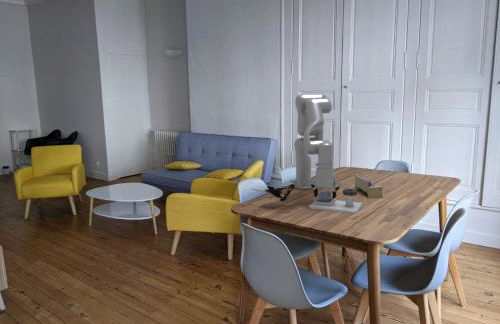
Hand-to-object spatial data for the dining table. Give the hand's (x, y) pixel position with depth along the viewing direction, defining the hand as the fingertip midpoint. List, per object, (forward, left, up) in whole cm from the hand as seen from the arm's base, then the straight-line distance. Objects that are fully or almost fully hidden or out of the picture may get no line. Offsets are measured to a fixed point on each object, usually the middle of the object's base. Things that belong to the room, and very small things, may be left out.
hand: (324, 197), depth 205 cm
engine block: (0, 0, -3) cm, 3 cm away
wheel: (+13, 0, +3) cm, 14 cm away
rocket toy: (-26, -13, -5) cm, 29 cm away
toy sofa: (+16, +34, -5) cm, 38 cm away
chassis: (+6, 0, -4) cm, 7 cm away
